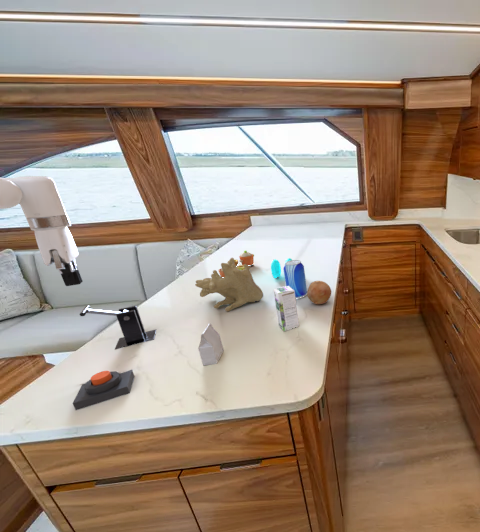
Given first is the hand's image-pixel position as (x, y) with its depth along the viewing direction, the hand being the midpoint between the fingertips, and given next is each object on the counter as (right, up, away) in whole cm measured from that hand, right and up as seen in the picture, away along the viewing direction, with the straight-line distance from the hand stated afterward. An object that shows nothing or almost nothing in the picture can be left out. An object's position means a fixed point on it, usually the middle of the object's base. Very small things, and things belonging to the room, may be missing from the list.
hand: (74, 283), depth 88 cm
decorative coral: (+25, -11, +39) cm, 48 cm away
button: (+20, -24, -12) cm, 34 cm away
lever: (+4, -11, +6) cm, 13 cm away
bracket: (+8, -20, +12) cm, 25 cm away
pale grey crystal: (+40, -23, +2) cm, 46 cm away
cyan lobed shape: (+36, -1, +68) cm, 77 cm away
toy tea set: (+5, +3, +80) cm, 80 cm away
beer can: (+51, -8, +45) cm, 68 cm away
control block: (+20, -28, -11) cm, 36 cm away
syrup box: (+57, -17, +20) cm, 62 cm away
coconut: (+63, -10, +38) cm, 74 cm away
